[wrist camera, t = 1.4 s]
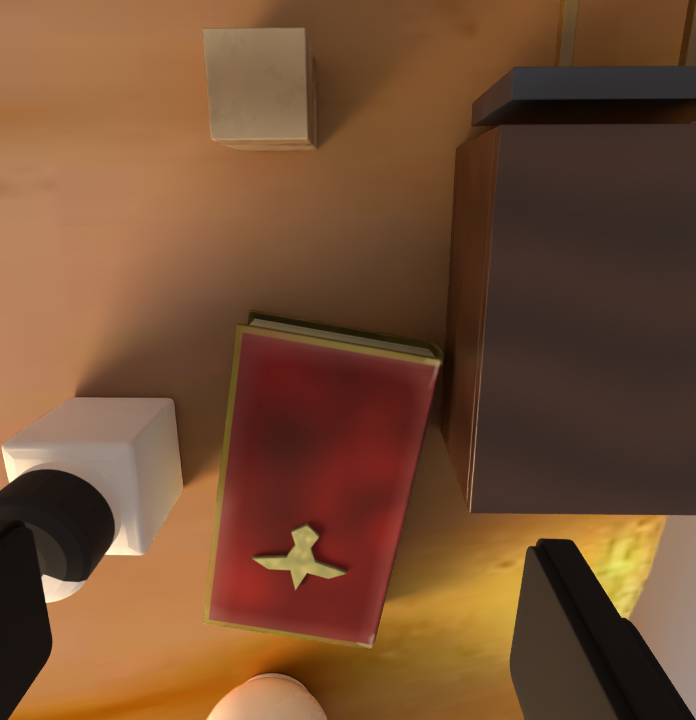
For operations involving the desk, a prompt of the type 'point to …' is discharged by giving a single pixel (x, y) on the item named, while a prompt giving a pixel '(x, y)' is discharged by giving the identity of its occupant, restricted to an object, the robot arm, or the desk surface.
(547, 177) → the cabinet
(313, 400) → the hardcover book
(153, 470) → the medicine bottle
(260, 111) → the block
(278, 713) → the trinket box
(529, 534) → the desk surface
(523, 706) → the robot arm
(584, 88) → the drawer
